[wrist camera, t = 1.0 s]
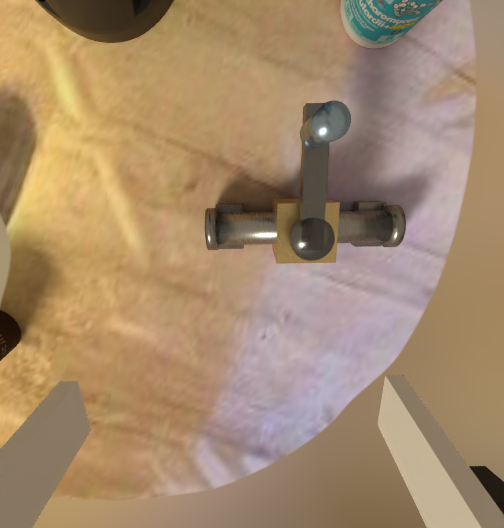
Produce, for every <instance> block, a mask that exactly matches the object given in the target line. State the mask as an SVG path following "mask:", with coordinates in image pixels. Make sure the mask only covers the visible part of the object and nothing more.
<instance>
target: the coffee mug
mask: <svg viewBox="0 0 504 528" xmlns="http://www.w3.org/2000/svg"><path fill="white" fill-rule="evenodd" d="M20 338H21V331H20V328H19V326H18V324H17V322H16V321H15V320H14V319H13V318H12V317H11V316H10V315H8V314H7V313H5V312H3V311H1V310H0V361H1V360H2V359H3V358H4V357H5V356H6V355H7V354H8V353H9V352H10V351H11V350H12V349H14V348H15V347H16V346H17V344H18V343H19V341H20Z"/></svg>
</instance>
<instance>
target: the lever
mask: <svg viewBox="0 0 504 528" xmlns="http://www.w3.org/2000/svg"><path fill="white" fill-rule="evenodd" d="M350 123H351V115H350V112H349V109H348V108H347V106H346V105H345V104H343V103H342V102H339V101H329V102H326V103H306V105H305V106H304V107H303V125H302V127H301V130H300V138H301V141H302V157H301V188H300V218H299V219H298V220H296V221H295V222H294V223H293V225H292V226H291V228H290V231H289V236H288V237H289V243H290V246H291V248H292V249H293V251H294V253H295V254H296V255H297V256H298V257H300V258H301V259H304V260H307V261H315V260H319V259H321V258H323V257H325V256H326V255H327V254H328V253H329V252H330V251H331V249H332V248H333V245H334V242H335V234H334V230H333V228H332V227H331V225H330V224H329V223H328V222H327V221H325V209H326V192H327V175H328V157H329V143H330V142H332V141H335V140H337V139H340V138H341V137H343V136H344V135H345V134H346V132H347V131H348V129H349V127H350Z"/></svg>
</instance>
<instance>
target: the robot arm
mask: <svg viewBox="0 0 504 528" xmlns="http://www.w3.org/2000/svg"><path fill="white" fill-rule="evenodd" d="M36 2H37V3H38V4H39V5H40V6H41V7H42V8H43V9H44V10H46V11H47V12H48V13H49V14H50V15H52V16H53V17H54V18H55V19H57V20H58V21H59V22H60V23H62V24H63V25H64V26H66V27H67V28H68V29H70V30H71V31H73V32H75V33H77V34H78V35H81V36H83V37H85V38H88V39H91V40H94V41H99V42H106V43H116V42H124V41H128V40H131V39H134V38H136V37H138V36H140V35H142V34H144V33H145V32H147V31H148V30H150V29H151V28H152V27H153V26H154V25H155V24H156V23H157V22H158V21H159V20H160V19H161V18H162V17H163V15H164V14H165V12H166V11H167V9H168V8H169V6H170V4H171V2H172V0H36ZM378 427H379V429H380V431H381V433H382V435H383V437H384V439H385V441H386V443H387V445H388V447H389V450H390V452H391V454H392V456H393V458H394V460H395V462H396V464H397V466H398V468H399V470H400V472H401V475H402V477H403V479H404V481H405V483H406V485H407V487H408V489H409V491H410V493H411V495H412V497H413V499H414V501H415V503H416V505H417V508H418V510H419V512H420V514H421V516H422V518H423V520H424V522H425V524H426V526H427V528H504V482H503V481H502V480H501V479H500V478H498V477H497V476H496V475H495V474H494V473H493V472H491V471H490V470H489V469H488V468H487V467H485V466H468V464H467V463H466V462H465V460H464V459H463V457H462V456H461V455H460V453H459V452H458V450H457V449H456V448H455V446H454V445H453V443H452V442H451V441H450V439H449V438H448V437H447V435H446V434H445V432H444V431H443V430H442V428H441V427H440V425H439V424H438V422H437V421H436V420H435V418H434V417H433V416H432V414H431V413H430V411H429V410H428V409H427V407H426V406H425V404H424V403H423V402H422V400H421V399H420V397H419V396H418V395H417V393H416V392H415V391H414V389H413V388H412V386H411V385H410V384H409V382H408V381H407V379H406V378H405V377H404V375H390V376H385V382H384V388H383V394H382V400H381V407H380V413H379V419H378ZM90 431H91V428H90V424H89V420H88V417H87V413H86V409H85V406H84V402H83V398H82V395H81V391H80V387H79V384H78V381H60V382H59V383H58V384H57V385H56V387H55V388H54V389H53V390H52V391H51V392H50V393H49V395H48V396H47V397H46V398H45V399H44V400H43V401H42V403H41V404H40V405H39V406H38V407H37V408H36V409H35V411H34V412H33V413H32V414H31V415H30V416H29V417H28V418H27V420H26V421H25V422H24V423H23V424H22V425H21V426H20V428H19V429H18V430H17V431H16V432H15V433H14V434H13V436H12V437H11V438H10V439H9V440H8V441H7V442H6V444H5V445H4V446H3V447H2V448H1V449H0V528H32V527H33V525H34V524H35V522H36V520H37V519H38V517H39V515H40V514H41V512H42V510H43V509H44V507H45V505H46V504H47V502H48V500H49V499H50V497H51V496H52V494H53V492H54V491H55V489H56V487H57V486H58V484H59V482H60V481H61V479H62V477H63V476H64V474H65V472H66V471H67V469H68V467H69V466H70V464H71V462H72V461H73V459H74V457H75V456H76V454H77V452H78V451H79V449H80V447H81V446H82V444H83V442H84V441H85V439H86V437H87V436H88V434H89V432H90Z"/></svg>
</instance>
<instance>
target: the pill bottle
mask: <svg viewBox="0 0 504 528" xmlns="http://www.w3.org/2000/svg"><path fill="white" fill-rule="evenodd" d="M441 1H442V0H341V7H340V10H341V18H342V23H343V26H344V28H345V30H346V32H347V34H348V35H349V37H350V38H351V39H352V40H353V41H354V42H356V43H357V44H359V45H361V46H363V47H366V48H372V49H376V48H382V47H386V46H388V45H390V44H392V43H394V42H395V41H397V40H398V39H399V38H401V37H402V36H403V35H404V34H405V33H406V32H408V31H409V30H410V29H411V28H412V27H413V26H414V25H415V24H417V23H418V22H419V21H420V20H421V19H422V18H423V17H424V16H426V15H427V14H428V13H429V12H430V11H431V10H432V9H433V8H435V7H436V6H437V5H438V4H439V3H440V2H441Z"/></svg>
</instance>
